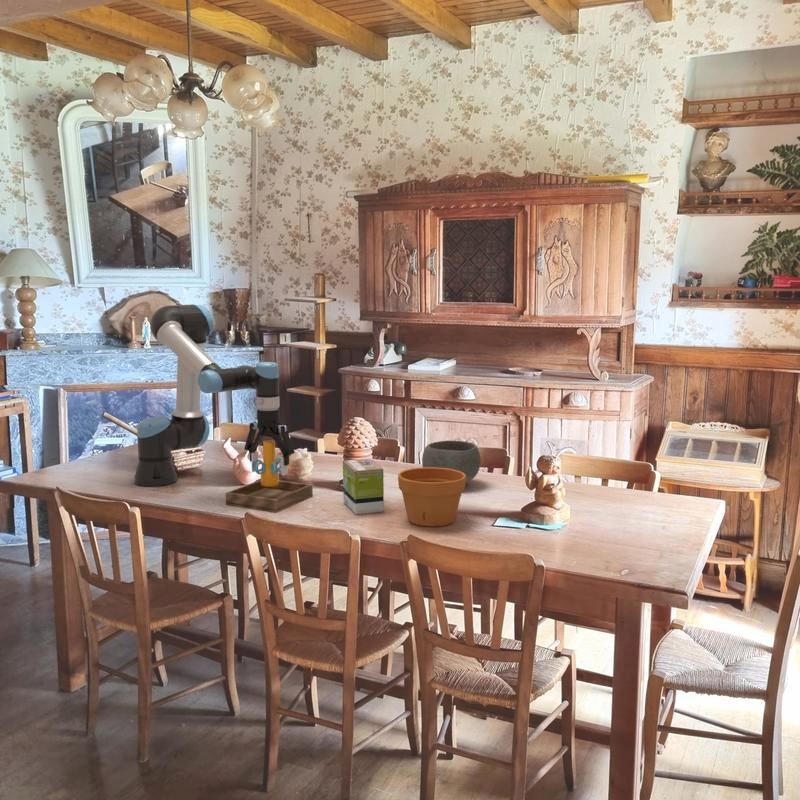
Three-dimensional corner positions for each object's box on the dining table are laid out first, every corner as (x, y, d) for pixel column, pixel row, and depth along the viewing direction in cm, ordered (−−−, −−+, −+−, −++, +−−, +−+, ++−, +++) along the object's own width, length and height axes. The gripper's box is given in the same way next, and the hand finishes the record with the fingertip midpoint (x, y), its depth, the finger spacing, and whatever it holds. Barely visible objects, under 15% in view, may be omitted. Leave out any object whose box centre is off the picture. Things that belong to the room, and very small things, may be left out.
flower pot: (403, 509, 274) (404, 464, 271) (468, 512, 270) (468, 467, 268) (392, 528, 253) (392, 480, 251) (461, 532, 249) (462, 484, 247)
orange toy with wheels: (291, 481, 287) (290, 438, 285) (284, 489, 277) (283, 444, 274) (256, 480, 288) (255, 437, 286) (248, 488, 278) (246, 444, 276)
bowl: (453, 475, 318) (454, 437, 316) (492, 487, 302) (493, 446, 299) (410, 484, 305) (410, 443, 303) (447, 496, 289) (448, 453, 287)
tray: (226, 504, 278) (225, 492, 277) (264, 489, 297) (264, 478, 297) (276, 512, 269) (275, 500, 269) (312, 496, 289) (312, 484, 288)
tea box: (342, 502, 281) (341, 459, 279) (370, 500, 284) (370, 457, 282) (354, 515, 267) (354, 469, 265) (384, 512, 270) (384, 467, 268)
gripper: (232, 407, 280) (234, 471, 284) (291, 413, 270) (293, 479, 273) (246, 404, 287) (247, 467, 290) (304, 409, 277) (305, 474, 280)
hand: (269, 472), depth 282 cm, fingers closed on orange toy with wheels, 11 cm apart
